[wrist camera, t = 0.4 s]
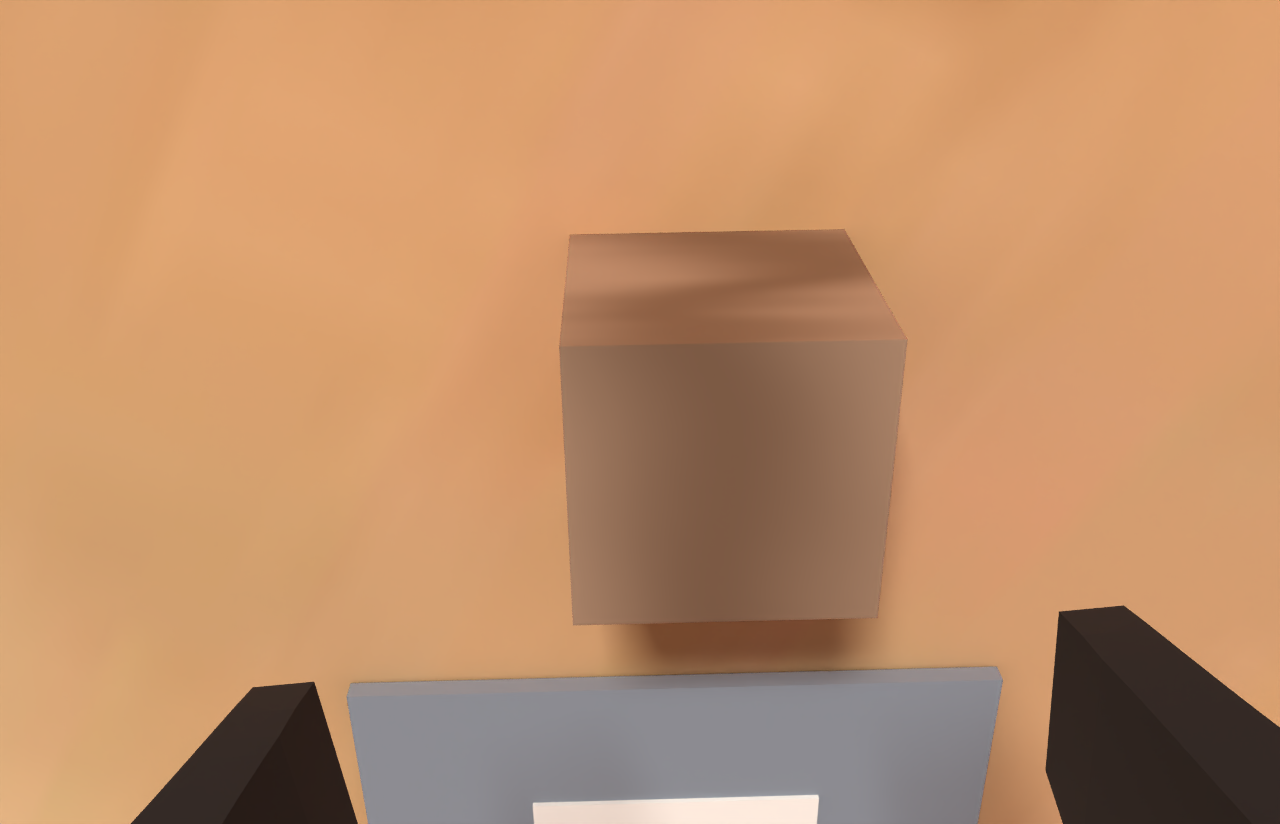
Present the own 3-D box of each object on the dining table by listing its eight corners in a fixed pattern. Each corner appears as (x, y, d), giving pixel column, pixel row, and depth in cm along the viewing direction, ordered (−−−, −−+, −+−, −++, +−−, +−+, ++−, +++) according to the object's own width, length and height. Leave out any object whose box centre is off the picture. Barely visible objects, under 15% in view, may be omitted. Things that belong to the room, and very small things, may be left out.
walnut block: (843, 227, 19) (907, 339, 15) (826, 463, 21) (877, 618, 17) (569, 233, 19) (560, 346, 15) (579, 469, 21) (572, 625, 17)
